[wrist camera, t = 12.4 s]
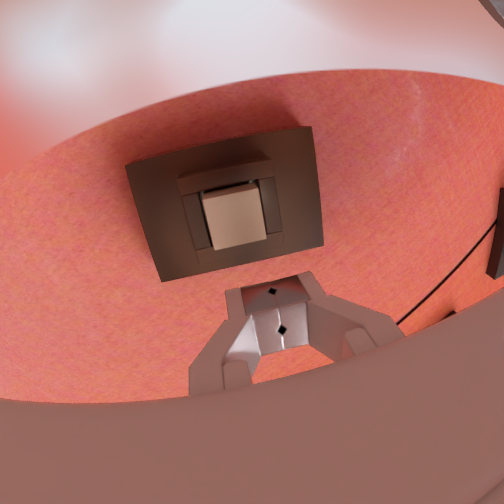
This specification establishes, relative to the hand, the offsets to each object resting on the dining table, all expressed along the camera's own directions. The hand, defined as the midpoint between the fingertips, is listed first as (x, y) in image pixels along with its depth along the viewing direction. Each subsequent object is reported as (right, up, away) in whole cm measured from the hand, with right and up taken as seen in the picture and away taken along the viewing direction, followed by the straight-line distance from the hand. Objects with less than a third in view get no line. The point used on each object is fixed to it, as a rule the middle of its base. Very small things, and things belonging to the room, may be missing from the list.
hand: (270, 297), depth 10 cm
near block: (-3, +6, +13) cm, 15 cm away
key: (-2, +4, +10) cm, 11 cm away
